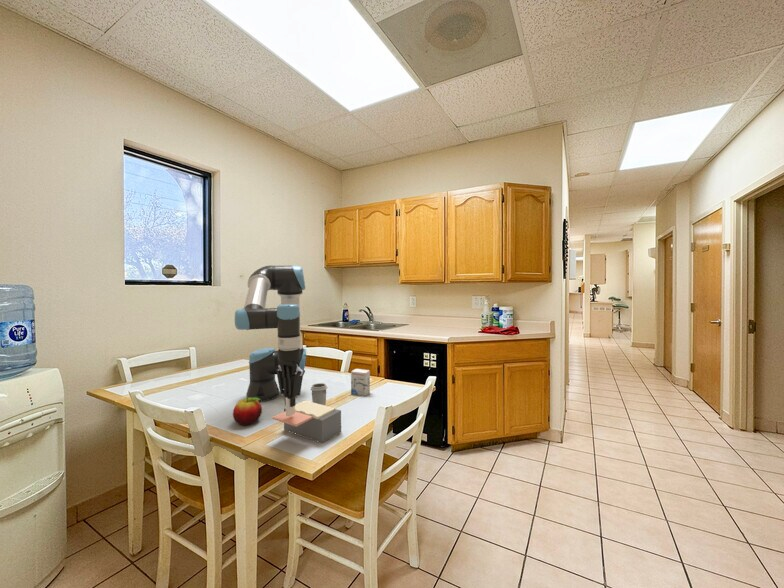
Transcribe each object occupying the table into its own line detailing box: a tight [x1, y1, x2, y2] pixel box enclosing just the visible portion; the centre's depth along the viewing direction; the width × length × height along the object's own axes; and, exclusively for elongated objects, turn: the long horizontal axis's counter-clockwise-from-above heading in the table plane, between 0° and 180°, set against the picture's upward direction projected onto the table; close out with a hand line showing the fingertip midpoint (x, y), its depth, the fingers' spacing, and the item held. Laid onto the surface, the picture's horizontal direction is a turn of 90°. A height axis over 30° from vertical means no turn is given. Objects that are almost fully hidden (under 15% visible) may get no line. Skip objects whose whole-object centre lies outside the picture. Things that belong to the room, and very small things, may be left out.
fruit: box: [232, 397, 263, 426], centre depth 132 cm, size 11×11×10 cm
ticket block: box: [283, 400, 342, 444], centre depth 124 cm, size 20×10×9 cm, turn 58°
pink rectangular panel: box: [272, 411, 312, 427], centre depth 116 cm, size 12×8×1 cm, turn 58°
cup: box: [310, 382, 328, 406], centre depth 141 cm, size 7×7×12 cm
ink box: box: [350, 368, 371, 397], centre depth 164 cm, size 9×5×12 cm, turn 68°
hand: (290, 414), depth 115 cm, fingers closed
